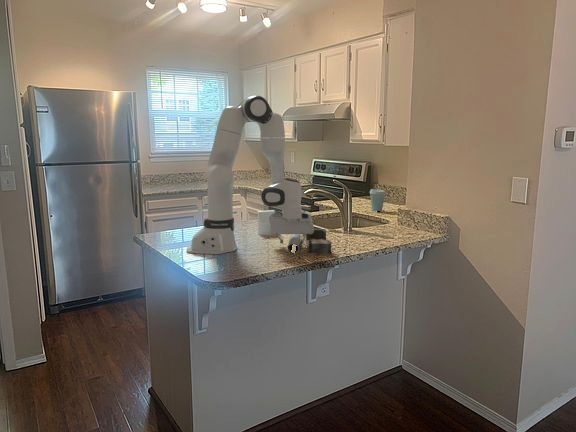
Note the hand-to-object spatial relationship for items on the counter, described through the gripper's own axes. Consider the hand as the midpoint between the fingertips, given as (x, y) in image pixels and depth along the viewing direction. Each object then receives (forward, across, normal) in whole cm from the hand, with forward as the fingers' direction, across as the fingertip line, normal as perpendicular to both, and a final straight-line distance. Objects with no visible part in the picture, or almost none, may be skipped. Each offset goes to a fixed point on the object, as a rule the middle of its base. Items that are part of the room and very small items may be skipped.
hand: (291, 243), depth 199 cm
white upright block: (+2, -13, +28) cm, 31 cm away
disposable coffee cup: (+2, +59, +94) cm, 111 cm away
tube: (+2, +1, 0) cm, 2 cm away
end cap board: (+2, +12, 0) cm, 12 cm away
